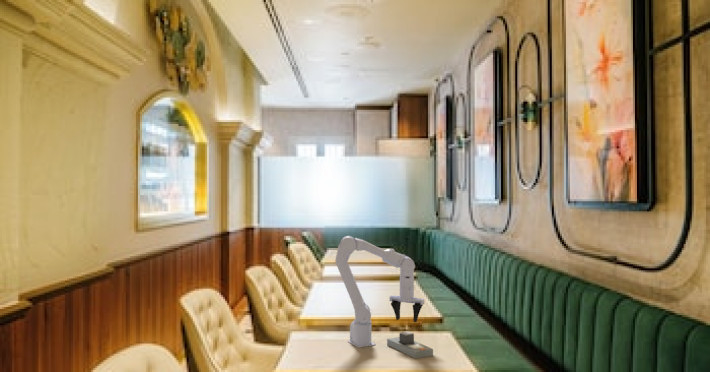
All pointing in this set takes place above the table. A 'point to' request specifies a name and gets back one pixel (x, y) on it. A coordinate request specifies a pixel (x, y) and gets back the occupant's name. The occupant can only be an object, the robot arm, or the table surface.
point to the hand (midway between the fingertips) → (406, 320)
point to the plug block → (406, 338)
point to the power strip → (410, 348)
